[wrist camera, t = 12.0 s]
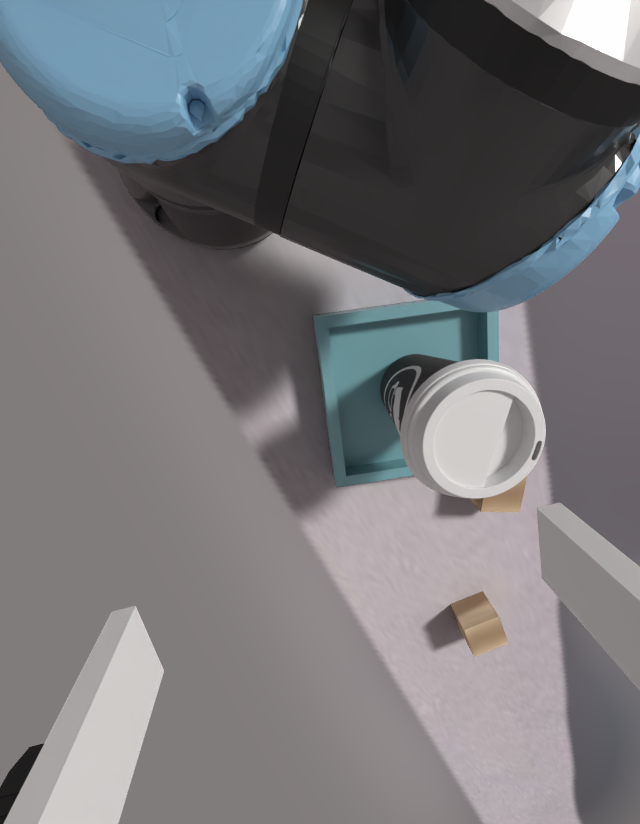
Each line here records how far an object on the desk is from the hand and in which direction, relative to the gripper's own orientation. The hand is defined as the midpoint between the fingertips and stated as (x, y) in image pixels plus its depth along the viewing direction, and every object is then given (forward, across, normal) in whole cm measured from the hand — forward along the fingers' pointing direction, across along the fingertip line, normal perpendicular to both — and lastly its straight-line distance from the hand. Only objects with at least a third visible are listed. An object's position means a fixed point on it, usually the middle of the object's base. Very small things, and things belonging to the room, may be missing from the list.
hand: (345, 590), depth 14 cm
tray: (+29, +10, -3) cm, 30 cm away
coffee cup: (+28, +10, -3) cm, 30 cm away
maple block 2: (+28, +13, -31) cm, 44 cm away
